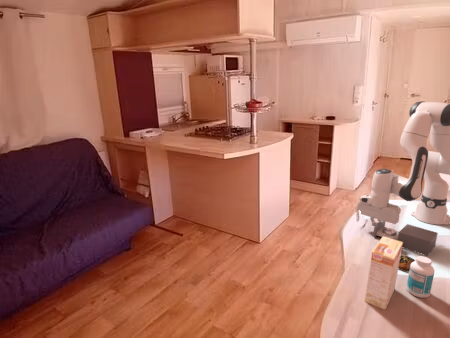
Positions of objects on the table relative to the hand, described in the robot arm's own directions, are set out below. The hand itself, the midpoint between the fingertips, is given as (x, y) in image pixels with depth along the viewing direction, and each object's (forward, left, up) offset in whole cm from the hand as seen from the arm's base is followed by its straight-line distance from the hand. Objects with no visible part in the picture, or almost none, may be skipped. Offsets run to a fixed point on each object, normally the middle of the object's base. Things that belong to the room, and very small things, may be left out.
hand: (375, 225), depth 160 cm
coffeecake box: (+51, +21, -4) cm, 55 cm away
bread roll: (+23, +21, -4) cm, 31 cm away
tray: (0, +8, -3) cm, 9 cm away
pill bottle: (+39, +30, -4) cm, 49 cm away
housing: (0, +19, -4) cm, 20 cm away
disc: (0, +7, -2) cm, 7 cm away
